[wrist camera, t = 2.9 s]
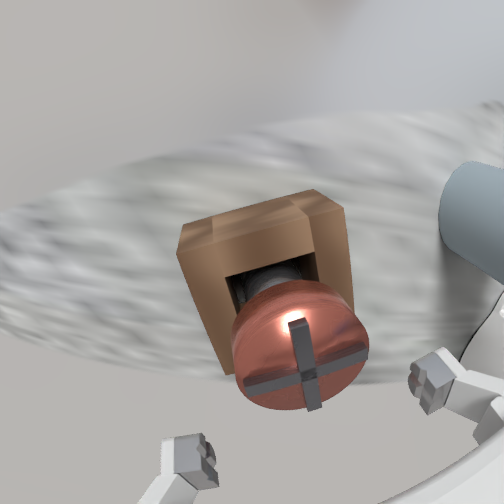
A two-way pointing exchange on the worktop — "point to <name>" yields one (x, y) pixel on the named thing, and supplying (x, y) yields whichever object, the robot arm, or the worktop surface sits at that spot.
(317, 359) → the copper cross-head bolt
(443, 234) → the spray bottle
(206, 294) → the block
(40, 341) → the worktop surface
